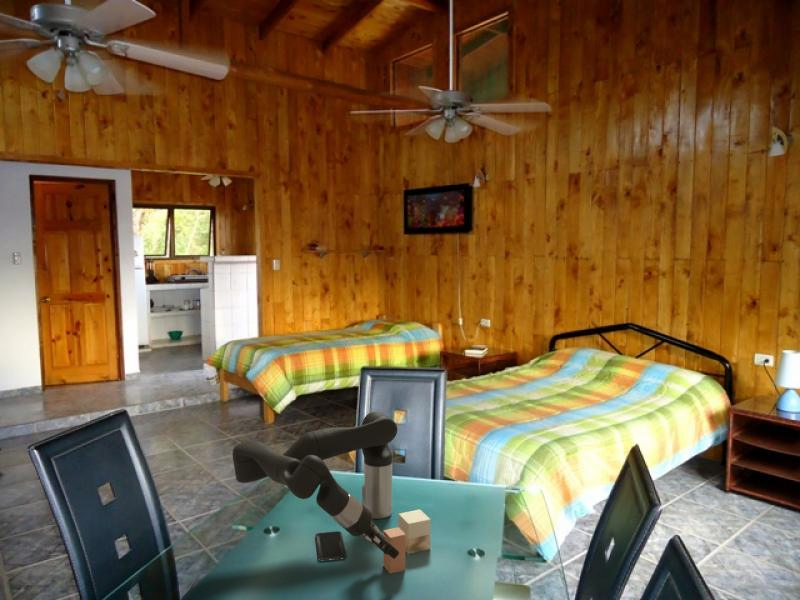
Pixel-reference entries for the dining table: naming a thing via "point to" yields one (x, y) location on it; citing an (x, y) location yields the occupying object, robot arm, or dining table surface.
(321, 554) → the phone
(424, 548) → the tower base
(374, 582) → the dining table surface
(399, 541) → the stack block
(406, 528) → the tower top
